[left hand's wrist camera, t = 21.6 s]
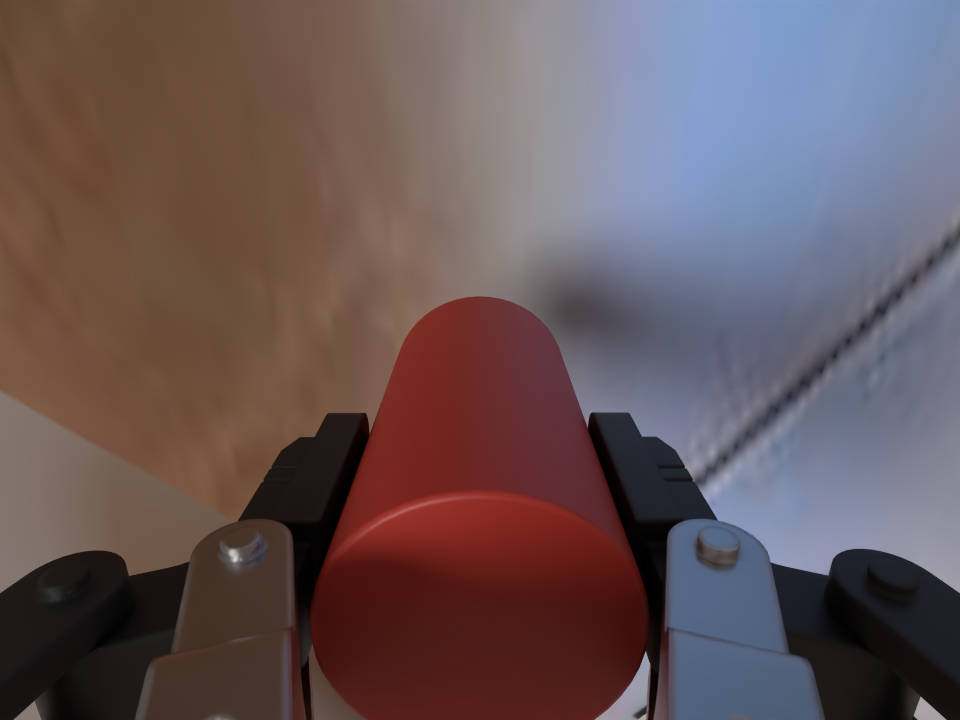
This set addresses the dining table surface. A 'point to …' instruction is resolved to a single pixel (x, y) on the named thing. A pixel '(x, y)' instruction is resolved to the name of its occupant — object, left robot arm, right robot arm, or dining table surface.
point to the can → (479, 539)
